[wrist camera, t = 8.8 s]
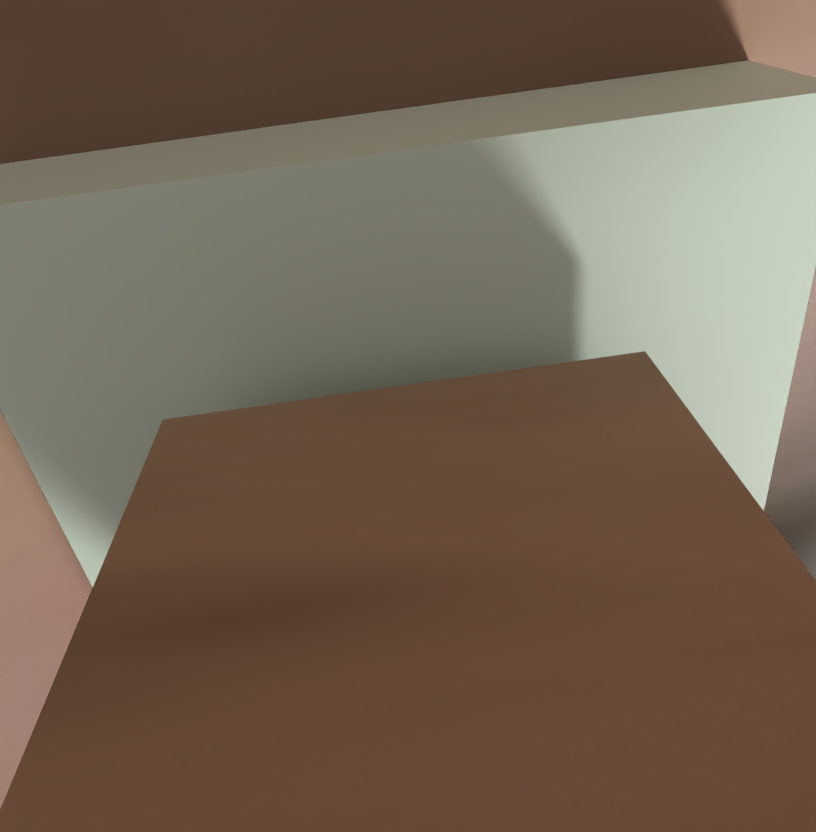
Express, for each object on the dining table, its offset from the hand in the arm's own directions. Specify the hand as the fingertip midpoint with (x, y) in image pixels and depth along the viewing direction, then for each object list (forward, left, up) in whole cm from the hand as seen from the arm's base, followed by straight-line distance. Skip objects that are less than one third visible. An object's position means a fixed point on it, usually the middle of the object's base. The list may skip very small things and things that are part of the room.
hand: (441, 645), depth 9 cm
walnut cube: (0, 0, -2) cm, 2 cm away
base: (0, 0, -6) cm, 6 cm away
